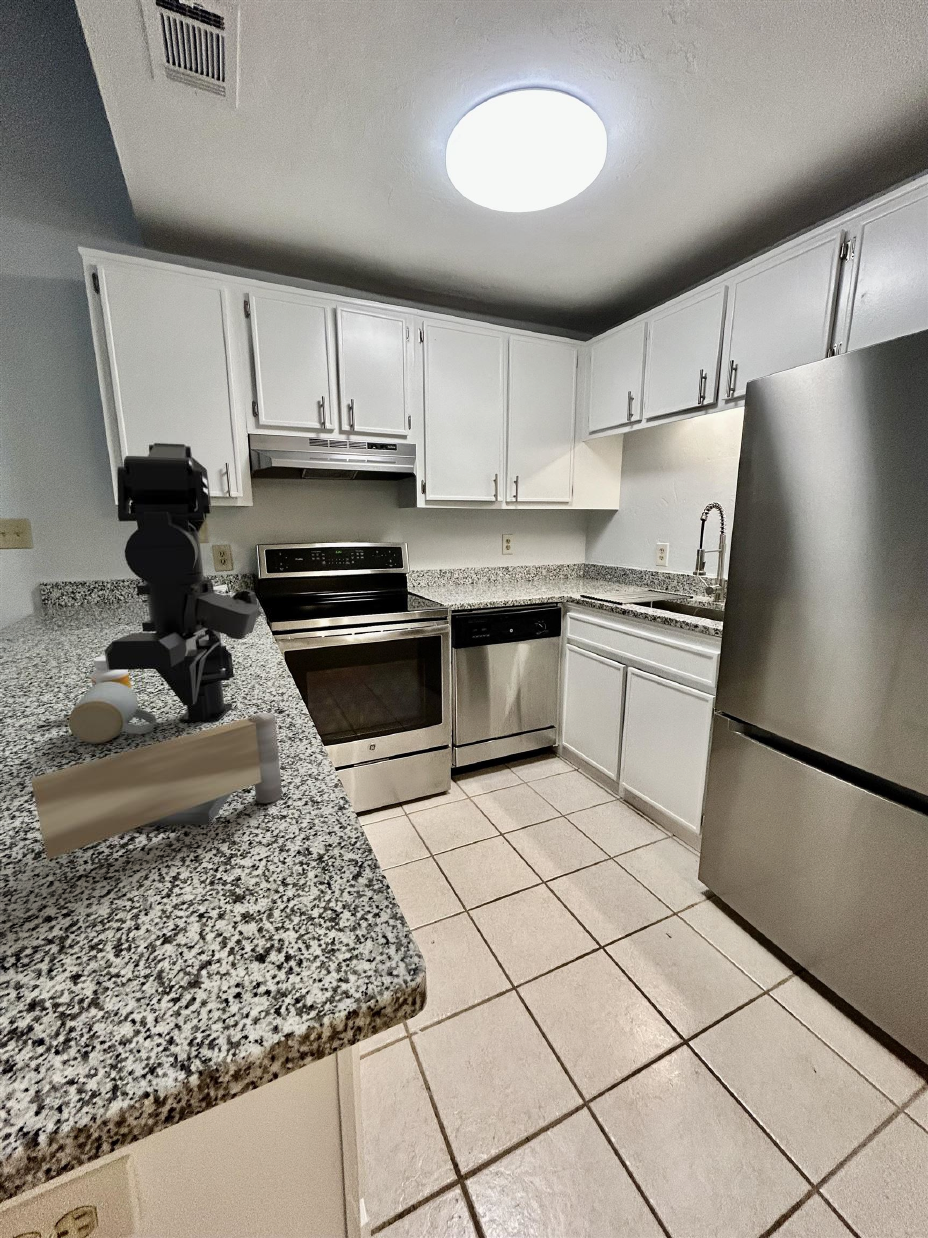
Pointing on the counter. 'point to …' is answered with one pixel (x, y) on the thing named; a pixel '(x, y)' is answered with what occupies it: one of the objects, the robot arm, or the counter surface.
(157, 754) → the swing bar
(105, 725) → the ceramic mug
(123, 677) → the supplement bottle
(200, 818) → the panel
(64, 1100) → the counter surface
